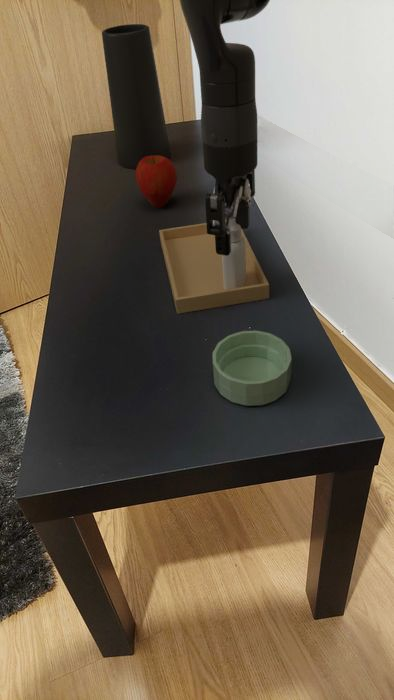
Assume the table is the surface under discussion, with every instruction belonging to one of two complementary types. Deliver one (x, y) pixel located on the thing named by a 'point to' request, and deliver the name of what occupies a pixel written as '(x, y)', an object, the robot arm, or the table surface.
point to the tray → (206, 271)
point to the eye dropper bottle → (235, 260)
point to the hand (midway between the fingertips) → (233, 240)
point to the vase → (134, 94)
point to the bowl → (252, 367)
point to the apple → (156, 179)
